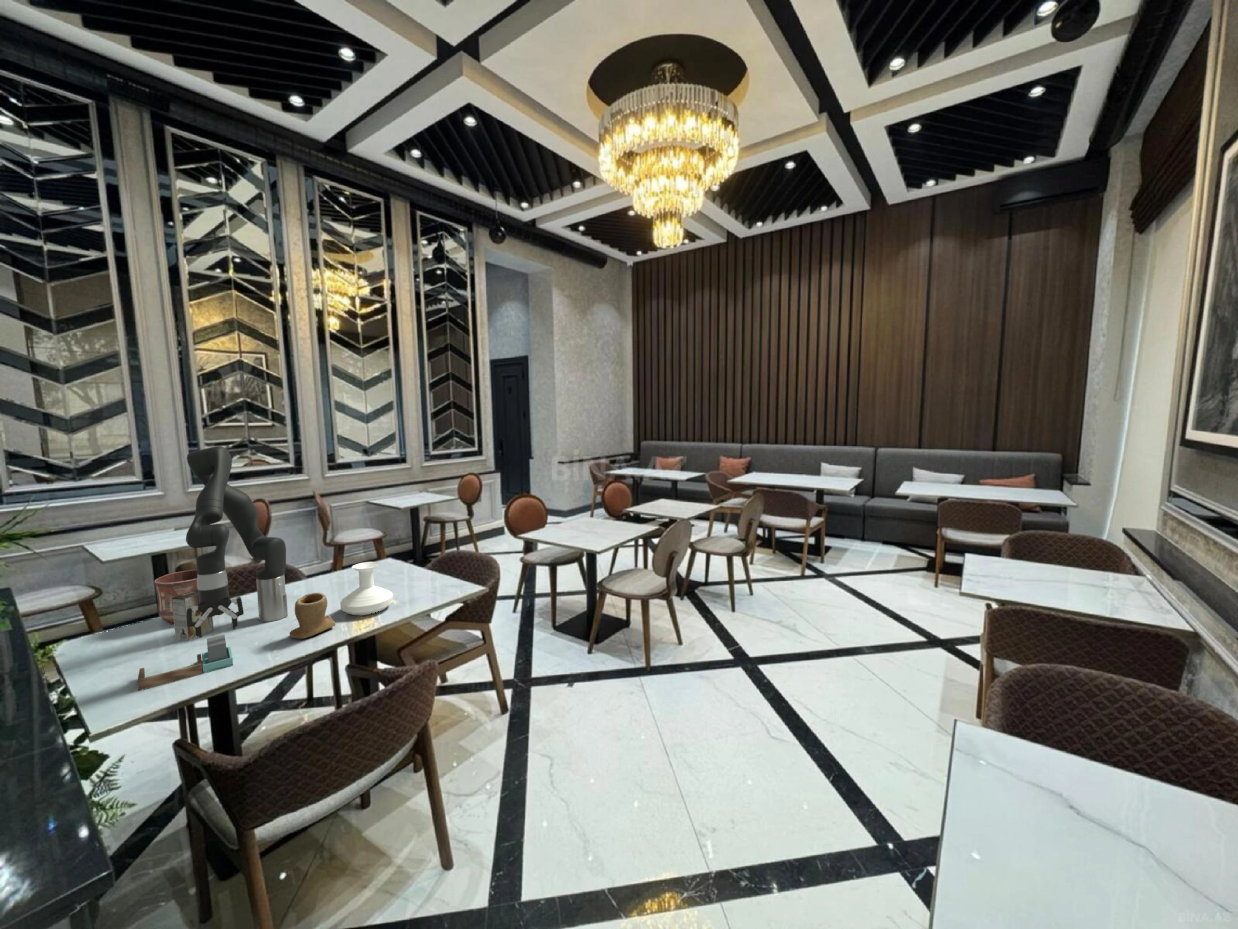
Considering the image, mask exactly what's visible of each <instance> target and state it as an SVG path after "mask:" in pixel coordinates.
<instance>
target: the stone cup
mask: <svg viewBox="0 0 1238 929" xmlns="http://www.w3.org/2000/svg"><path fill="white" fill-rule="evenodd" d="M327 608H328V599H327V596H326V595H325V594H324V593H321V592H311V593H307V594H305V595H303V596H301V597H300V598H298V599H297V600H296V601H295V604H294V615H295V617H296V620H297V623H298V625H299V626H298V627H296V628H294V629H292V630H291V631H289V636H291V637H292V638H294V639H306V638H309V637H313V636H315V635H317V634H320V633H322V632H324V631H326V630H329V629H331V628H333V627H335V626H336V625H337V624H336V622H335V621H334V619H333V618H332V617H331V615H327V616H326V612H327Z"/></svg>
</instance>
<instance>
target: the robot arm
mask: <svg viewBox="0 0 1238 929" xmlns="http://www.w3.org/2000/svg"><path fill="white" fill-rule="evenodd" d="M186 461H187V464H188V466H189V468H190V470H191V471H192V473H193V474H194V475H195V477H196V478H197V479H198V480H199V481H200V482H201V483H202V485H203V486H204V487H203V488H202V489H201V491H199V493H198V496H197V498H196V503H195V515H194V518H193V520H192V522H191V525H190V526H189V528H188V530H187V532H186V536H185V542H186V545H188V546H189V547H190V548H192V549H201V548H202V549H203V548H209V547H215V549H214V550H212V551H211V552H206V553H203V554H200V555H198V556H197V557H196V561H195V562H196V570H197V588H198V596H199V605H198V606H196V607H190V606H189V607H187V627H195V631H196V636H197V638H199V639H200V638H203V635H202V633H201V625H200V624H201V623H202V622H203V621H204V620H205V619H206V617H213V618H214V617H215V616H222V615H223V614H225V615H227V616H229V617H231V626H232V627H231V628H232V630H236V628H238V627H239V622H238V617H240V616H243V615H244V614H245V612H244V607H243V601H242V597H241V596H240V595H239V596H236V597H234V598H230V593H229V591H230V590H229V579H228V574H227V570H226V560H225V559H226V558H225V555H226V550H227V549H226V548H227V545H228V541H229V538H230V529H229V527H228V526H227V525H226V524H223V523H219V522H221V520H222V519H223V517H224V515H225V516H226V518H227V519H228V521H229V522H230V523H231V524H232V526H233V528H234V529H235V531H236V532H237V534H238V535H239V536H240V538H241V540H242V542H243V544H244V546H245V549H246V550H247V552H248V554H249V555H250V557H252V558H253V559H255V560H258V561H264V567H263V568H260V569H258V570H257V571H256V572H255V579H256V580H255V581H256V593H257V606H258V608H257V609H258V620H259V621H260V622H262V623H264V622H267V623H268V622H273V621H274V622H275V621H278V620H281V619H283V618H287V617H288V616H289V612H288V599H287V598H288V597H287V592H286V580H285V570H286V567H287V547H286V543H285V541H284V539H282V538H280V537H275V536H274V537H273V536H272V537H271V536H266V535H264V533H263V532H262V531H261V530H260V529H259V527H258V524H257V523H258V509H257V507H256V505H255V503H254V502H253V500H252V499H251V497H250V496H249V495H248V494H247V493H246V492H245V491H242V490H240V489H239V488H236V487H234V486H232V485H230V484H228V482H229V479H230V474H231V471H232V465H233V464H232V463H233V460H232V455H231V453H230V451H229V450H228V449H227V448H226V447H224V446H222V445H216V446H211V447H206V448H202V449H198V450H194V451H191V452H189V453H188V454H187V457H186ZM231 604H234V605H235V606H237V611H236V612H235V611H234V610H232V609H231V608H230V606H231ZM196 610H199V611H200V612H201V615H200V616H199V618H198V619H197V620H196V622H193V621H192V614H194V613H195V611H196ZM198 636H199V637H198Z"/></svg>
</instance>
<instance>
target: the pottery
mask: <svg viewBox="0 0 1238 929" xmlns="http://www.w3.org/2000/svg"><path fill="white" fill-rule="evenodd" d="M153 582H154V583H153V584H154V589H155V594H156V598H157V611H158V613H157V614H158V616H159V617H160V619H161V620H162V621H163V622H166V623H168V624H170V625H174V617H173V608H172V597H175V596H178V595H181V594H184V593H187V592H191V591H194V590H198V588H197V569H188V570H187V569H186V570H183V571H181V570H180V571H178V572H177V571H176V572H172V573H167V574H164V575H163V576H160V577H158V578H156V579H154V581H153Z"/></svg>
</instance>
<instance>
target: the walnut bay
mask: <svg viewBox="0 0 1238 929" xmlns="http://www.w3.org/2000/svg"><path fill="white" fill-rule="evenodd" d="M196 661H197V662H196V664H194V665H190V666H185V667H181V668H178V669H174V670H170V671H165V672H162V673H158V674H154V675H150V676H146V672H145V667H141V668H139V670H138V674H137V675H138V677H137V691H143V690H146V689H145V688H147V689H150V687H151V688H153V687H157V686H161V685H165V684H170V683H173V682H177V681H180V680H184V679H187V678H188V679H189V678H191V677H195V676H198V675H203V663H202V653H199V654H196ZM142 689H143V690H142Z"/></svg>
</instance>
